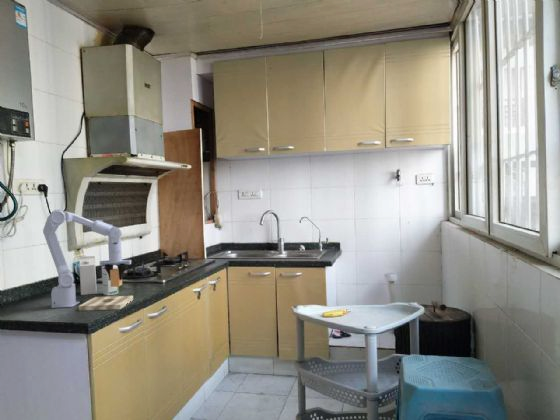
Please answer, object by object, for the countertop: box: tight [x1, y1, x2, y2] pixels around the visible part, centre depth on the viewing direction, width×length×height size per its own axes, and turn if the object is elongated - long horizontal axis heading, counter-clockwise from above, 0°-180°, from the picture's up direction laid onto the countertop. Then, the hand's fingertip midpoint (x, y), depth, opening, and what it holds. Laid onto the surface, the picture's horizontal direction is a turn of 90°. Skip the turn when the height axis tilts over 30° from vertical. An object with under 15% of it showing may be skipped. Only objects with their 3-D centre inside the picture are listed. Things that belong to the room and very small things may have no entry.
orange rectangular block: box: [110, 269, 123, 287], centre depth 199 cm, size 4×4×8 cm
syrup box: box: [101, 265, 120, 297], centre depth 209 cm, size 6×6×14 cm
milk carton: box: [79, 255, 97, 296], centre depth 212 cm, size 7×7×19 cm
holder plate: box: [78, 295, 134, 312], centre depth 187 cm, size 18×16×2 cm
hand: (116, 279), depth 199 cm, fingers closed on orange rectangular block, 4 cm apart
